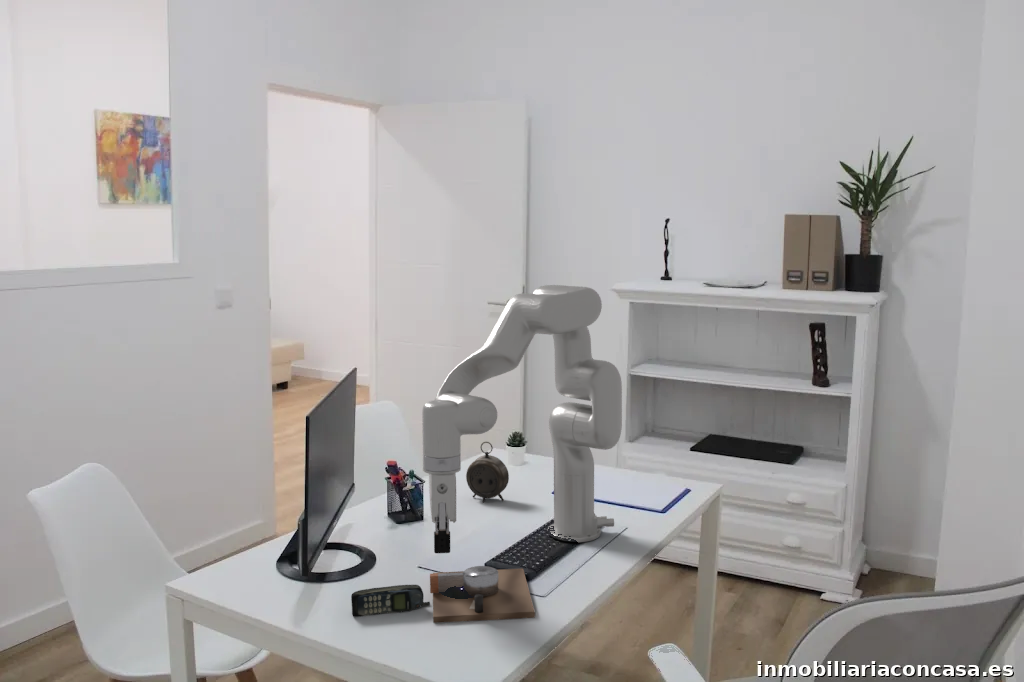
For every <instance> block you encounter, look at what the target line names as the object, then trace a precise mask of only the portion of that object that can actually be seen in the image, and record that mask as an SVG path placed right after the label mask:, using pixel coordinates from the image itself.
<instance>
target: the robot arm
mask: <svg viewBox="0 0 1024 682" xmlns="http://www.w3.org/2000/svg"><path fill="white" fill-rule="evenodd" d="M602 305H603V304H602V299H601V296H600V294H599V293H598V292H597V291H596V290H595V289H593V288H592V287H587V286H575V285H561V284H560V285H559V284H548V285H547V284H546V285H545V284H544V285H541V286H538V287H537V288H535V289H534V290H533V292H532V293H530V292H529V293H526V292H525V293H518V294H515V295H513V296H511V297H510V298H509V300H508V301H507V303H506V304H505V306H504V308H503V310H502V311H501V313H500V315H499V317H498V319H497V320H496V322H495V324H494V326H493V328H492V330H491V331H490V333H489V335H488V336H487V338H486V341H485V342H484V343H483V345H482V346H481V347H480V348H479V349H478V350H476V351H475V352H473V353H471V354H470V355H469V356H468V357H466V358H465V359H464V360H462V361H461V362H460V363H459V364H457V365H456V366H455V367H454V368H453V369H452V370H451V371H450V372H449V373H448V375H447V376H446V378H445V380H444V381H443V382H442V385H441V387H440V388H439V389H438V392H437V394H436V396H435V398H434V400H430V401H427V402H426V403H424V405H423V407H422V414H421V415H422V471H423V472H424V473H426V474H428V484H429V486H428V488H429V490H428V491H429V507H430V516H431V521H432V523H434V524H435V526H434V527H435V530H434V531H433V538H434V539H433V543H434V544H433V545H434V546H433V547H434V548H433V550H434V551H433V552H434V553H435V554H450V553H451V531H450V523H451V522H453V523H456V522H457V476H456V473H459V472H460V471H461V468H462V466H461V464H462V463H461V462H462V460H461V459H462V457H461V451H462V450H461V445H462V444H461V437H462V436H463V435H481V434H485V433H487V432H489V431H490V430H492V429H493V428H494V426H495V425H496V423H497V420H498V411H497V407H496V405H495V404H494V403H493V402H492V401H491V400H490V399H487V398H485V397H482V396H476V395H471V394H470V393H471V392H472V391H473V390H474V389H476V387H477V386H478V385H480V384H481V383H483V382H485V381H488V380H489V379H492V378H494V377H498V376H501V375H503V374H506V373H509V372H511V371H513V370H515V369H516V368H518V366H519V364H520V363H521V361H522V359H523V357H524V355H525V353H526V351H527V349H528V348H529V346H530V344H531V342H532V341H533V339H534V336H535V335H536V334H538V335H549V336H550V335H551V336H552V338H553V344H554V345H553V347H554V349H553V350H554V382H555V383H554V384H555V388H556V391H557V392H558V393H559V394H560V395H562V396H564V397H567V398H570V399H576V400H582V401H589V402H590V403H591V405H590V404H584V403H580V402H579V403H578V402H571V401H570V402H569V401H568V402H563V403H560V404H558V405H556V406H555V407H554V408H553V409H552V410H551V412H550V414H549V418H548V426H549V427H548V428H549V434H550V438H551V443H552V451H553V452H552V453H553V454H552V455H553V515H554V516H553V523H552V524H550V525H549V526H548V528H547V530H548V529H549V527H550V528H553V527H551V526H554V530H555V531H550V532H551V534H553V535H554V536H558V534H562V535H559V536H558V537H561V538H566V539H568V538H571V539H574V540H576V541H577V542H578V543H586V542H592V541H594V540H596V539H598V538H599V537H600V536H601V534H602V533H601V531H602V530H601V528H602V527H606V528H608V527H615V519H614V517H612V518H611V517H610V518H609V517H607V516H605V515H603V516H597V515H596V513H595V460H594V457H593V452H592V450H591V448H592V449H596V450H603V451H604V450H611V449H612V448H614V447H615V446H617V445H618V442H619V440H620V438H621V434H622V426H623V425H622V421H623V413H622V412H623V407H622V406H623V392H622V391H623V385H622V376H621V374H620V371H619V369H618V368H617V366H616V365H615V364H614V363H612V362H610V361H607V360H600V359H594V358H593V353H592V342H591V341H592V339H591V334H590V331H589V328H588V327H589V326H591V325H593V324H594V323H595V322H596V321H597V320H598V319H599V317H600V315H601V313H602V307H603V306H602ZM550 530H553V529H550ZM554 532H555V533H554ZM564 536H567V537H564ZM569 536H571V537H569Z"/></svg>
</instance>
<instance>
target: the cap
mask: <svg viewBox="0 0 1024 682" xmlns="http://www.w3.org/2000/svg"><path fill="white" fill-rule="evenodd" d="M498 570H499V569H497V568H494V567H492V566H488V565H487V566H486V565H477V566H472V567H468V568H466V569H464V572H462V573H441V574H438V573H439V572H433V573H434V574H433V573H429V587H430V588H429V589H430V591H429V592H430V594H433V593H439V592H445V591H446V590H447V589H448V588H450V587H454V586H456V587H462V586H464V588H465V590H466V591H467V592H468V594H469V595H471V596H475V595H477V594H481V595H483V596H489V595H492V594H495V593H496V592H497V591H498V590H499V585H498Z"/></svg>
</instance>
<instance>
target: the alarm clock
mask: <svg viewBox="0 0 1024 682" xmlns="http://www.w3.org/2000/svg"><path fill="white" fill-rule="evenodd" d="M484 444H489V445H490V447H491V449H490V451H484V450H483V447H482V446H483V445H484ZM493 449H494V447H493V444H492V443H491V442H490V441H483V442H482V443H481V444H480V451H481V452H482V453H483V454H484V455H482V456H479V457H478V458H476V459H475V460H474V461H472V462H471V464H470V465H469V466H468V468H467V469H466V475H465V478H466V479H465V480H466V483H467V486H468V488H469V489H470V491H471V492H472V493H473V495H472V498H473V499H474V498H475V497H476V496H477V497H479V498H482V503H486V499H493V498H496V497H497V496H498V498H499V499H501V501H502V502H504V501H505V499H504V498H503V496H502V494H501V493H502V492H503V491H504V490H505V489H506V488H507V486H508V484H509V480H510V479H509V478H510V475H509V470H508V468H507V466H506V464H505V463H504V462H503V460H501V459H500V458H498V457H497V456H494V455H491V454H490V453H492V452H493ZM489 454H490V455H489Z"/></svg>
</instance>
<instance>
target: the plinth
mask: <svg viewBox="0 0 1024 682" xmlns="http://www.w3.org/2000/svg"><path fill="white" fill-rule="evenodd" d="M497 570H498V585H499V590H498V591H497V592H496V593H495V594H492V595H489V596H483V595H481V594H477V595H475V596H474V597H473V598H468V599H455V598H450V597H447V596H444V595H442V594H441V593H432V619H433V620H432V623H433V624H438V623H457V622H458V623H459V622H460V623H461V622H474V621H475V622H478V621H495V620H497V621H498V620H513V619H514V620H515V619H531V618H532V619H534V618H535V617H536V614H535V613H536V612H535V608H534V605H533V604H534V603H533V600H532V597H531V592H530V589H529V585H528V582H527V581H528V580H527V579H526V574H525V570H524V568H507V569H497ZM464 571H465V570H464ZM464 571H463V570H462V571H446V572H445V571H444V572H443V571H441V572H440V571H439V572H437V573H438V574H441V573H462V572H464ZM434 573H435V572H432V574H434Z"/></svg>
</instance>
